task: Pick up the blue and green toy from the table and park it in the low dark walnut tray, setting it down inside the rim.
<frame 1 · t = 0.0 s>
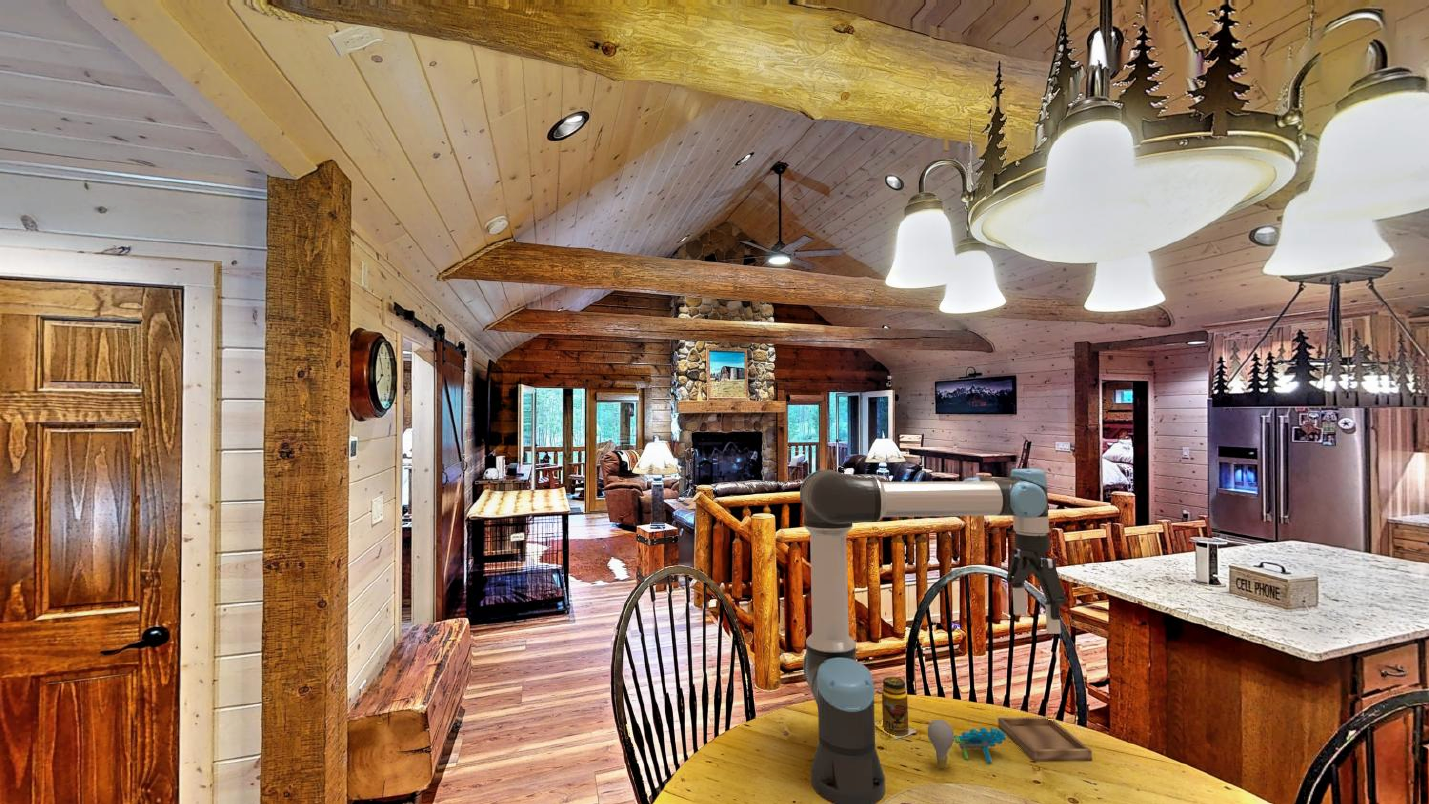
hand: (1035, 623, 131), 28 cm above the table, tool pointing down, fingers open, 13 cm apart
light bulb: (942, 769, 120), on the table
tray: (1042, 742, 130), on the table
blue and green toy: (980, 756, 125), on the table
condiment: (893, 729, 137), on the table
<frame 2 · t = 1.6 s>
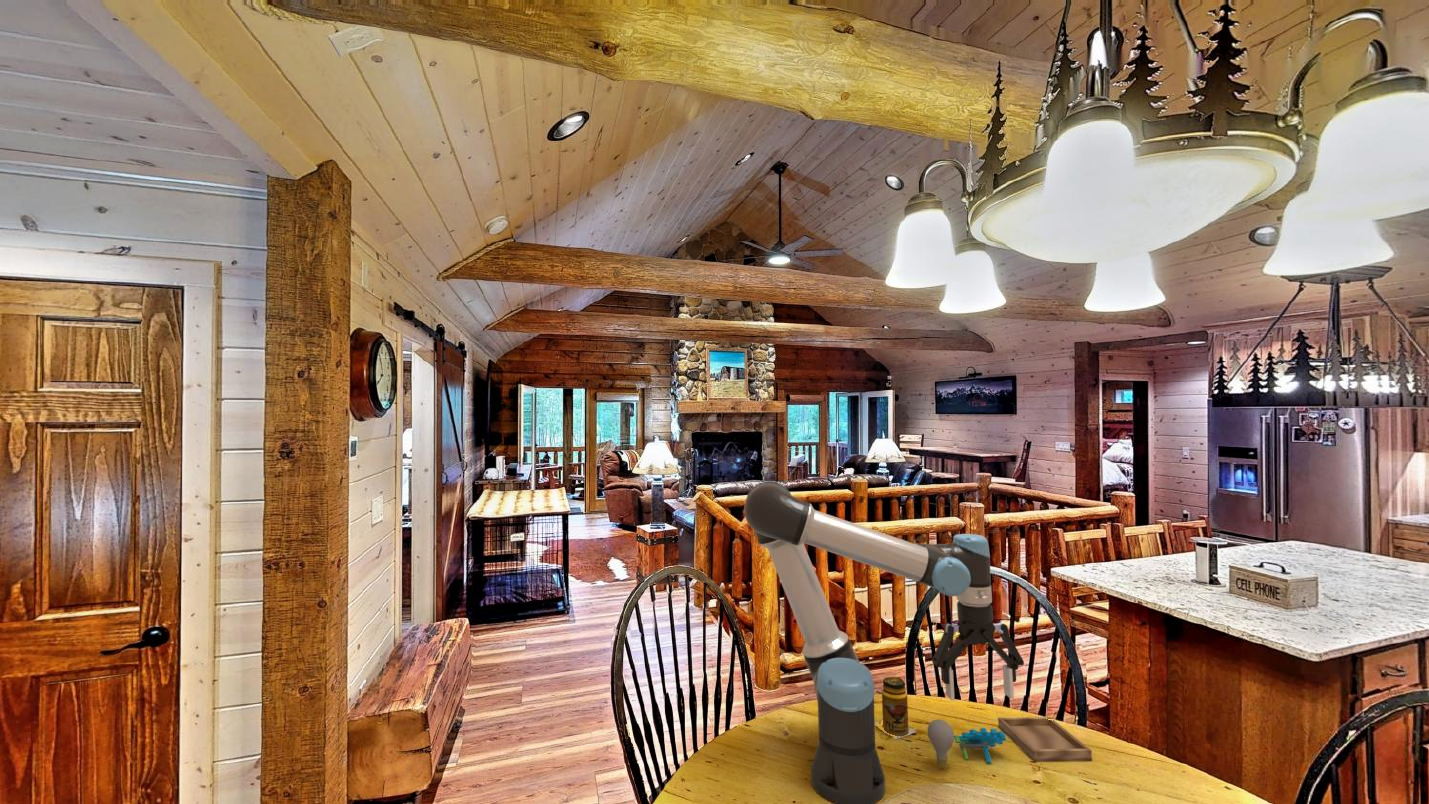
hand: (979, 697, 126), 13 cm above the table, tool pointing down, fingers open, 13 cm apart
nothing on the table moved.
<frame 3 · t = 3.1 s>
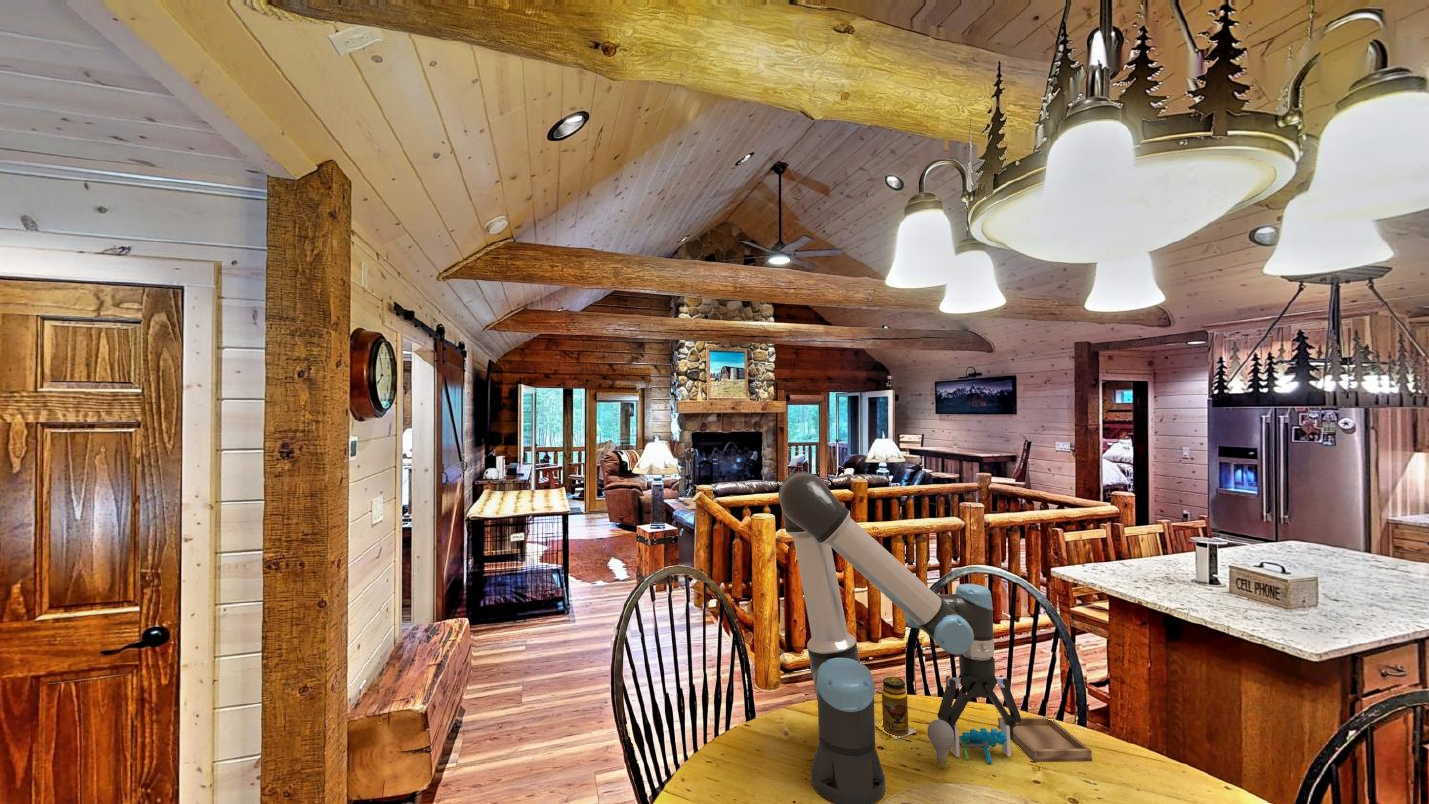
hand: (980, 753, 125), 0 cm above the table, tool pointing down, fingers closed on blue and green toy, 11 cm apart
blue and green toy: (981, 756, 125), on the table, touching gripper
everything else where it was.
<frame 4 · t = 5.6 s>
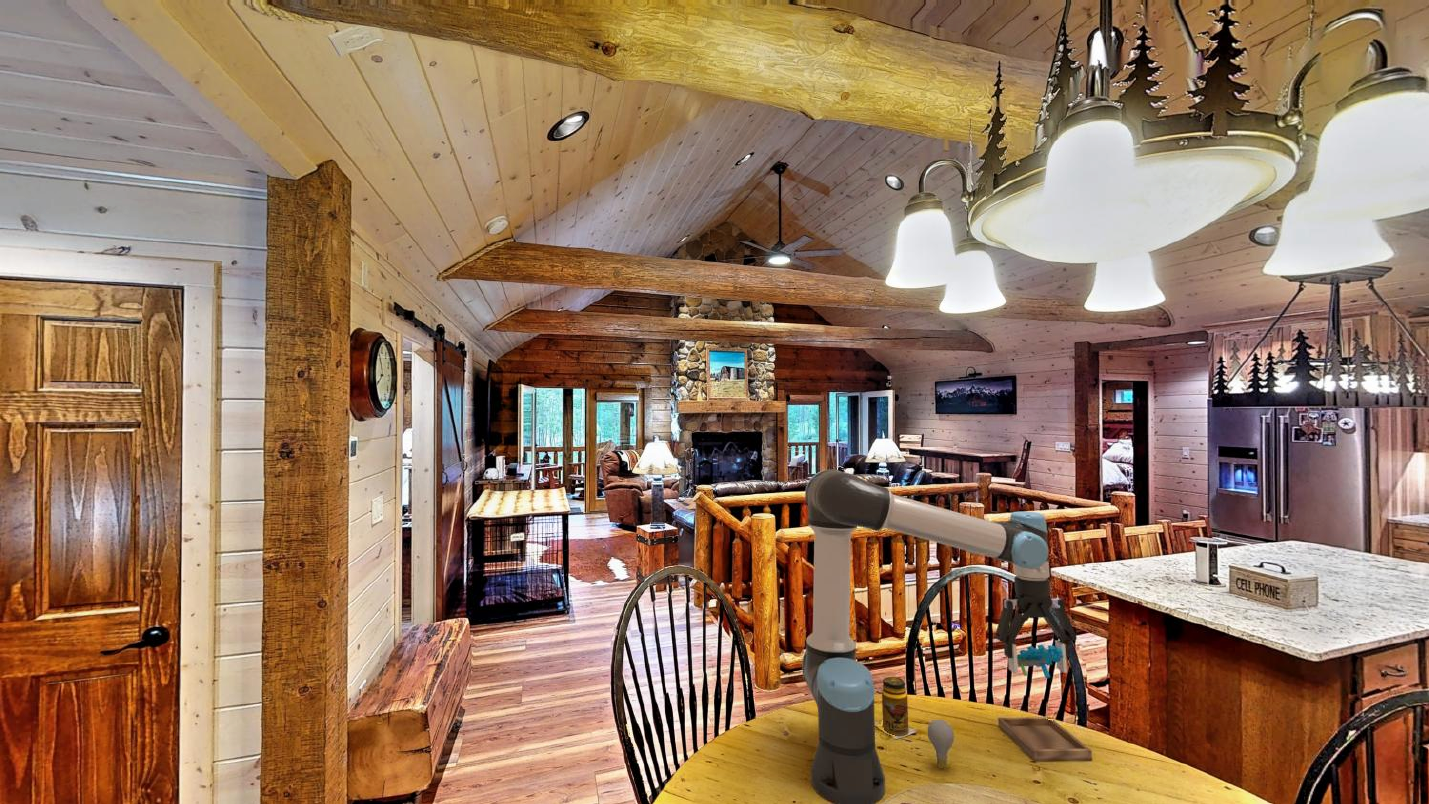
hand: (1037, 670, 131), 17 cm above the table, tool pointing down, fingers closed on blue and green toy, 11 cm apart
blue and green toy: (1038, 673, 130), point 16 cm above the table, touching gripper
everything else where it was.
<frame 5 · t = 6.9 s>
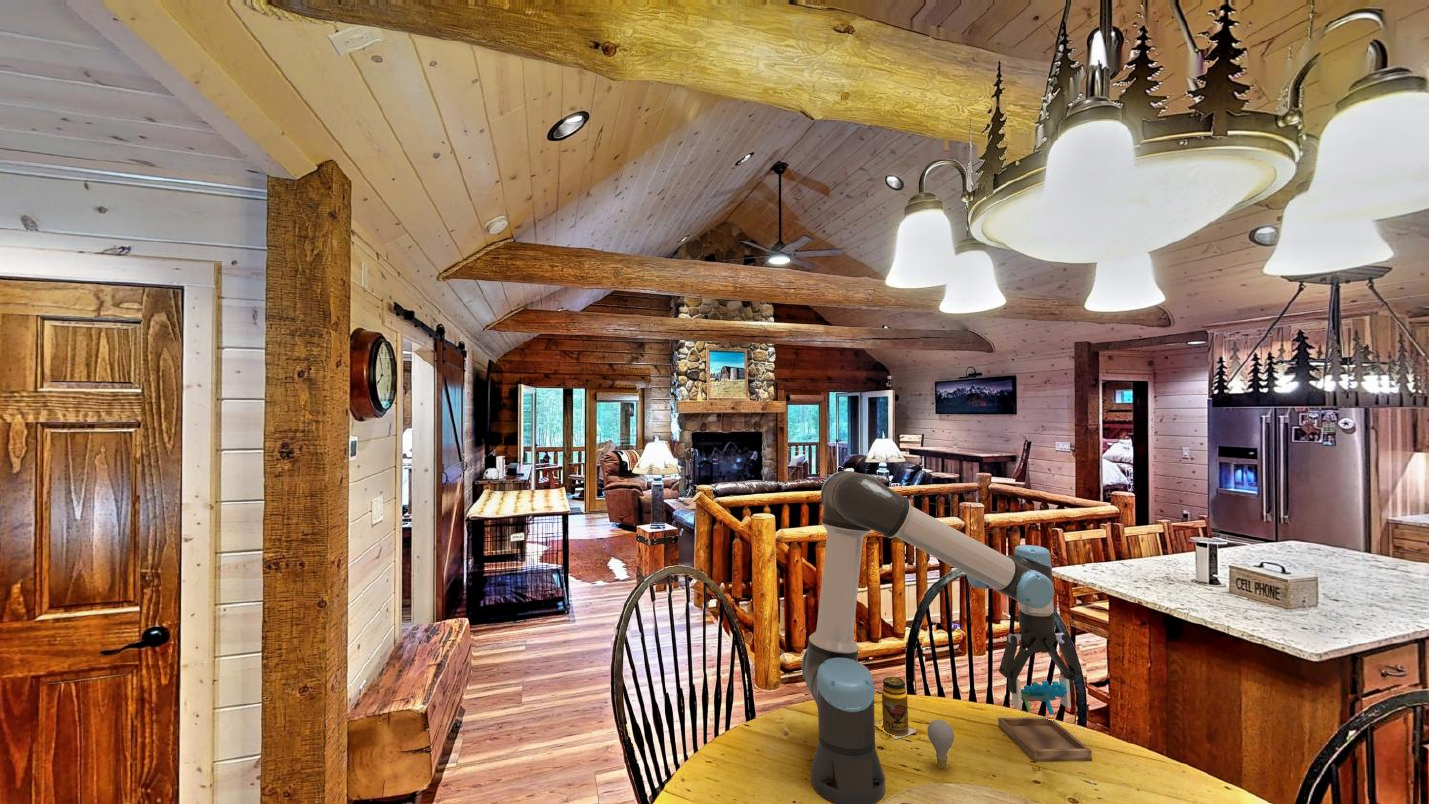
hand: (1041, 706, 130), 8 cm above the table, tool pointing down, fingers closed on blue and green toy, 11 cm apart
blue and green toy: (1042, 708, 130), point 8 cm above the table, touching gripper
everything else where it was.
when the fingers open (3 cm above the table, at t = 8.2 s): blue and green toy drops 3 cm, resting on tray.
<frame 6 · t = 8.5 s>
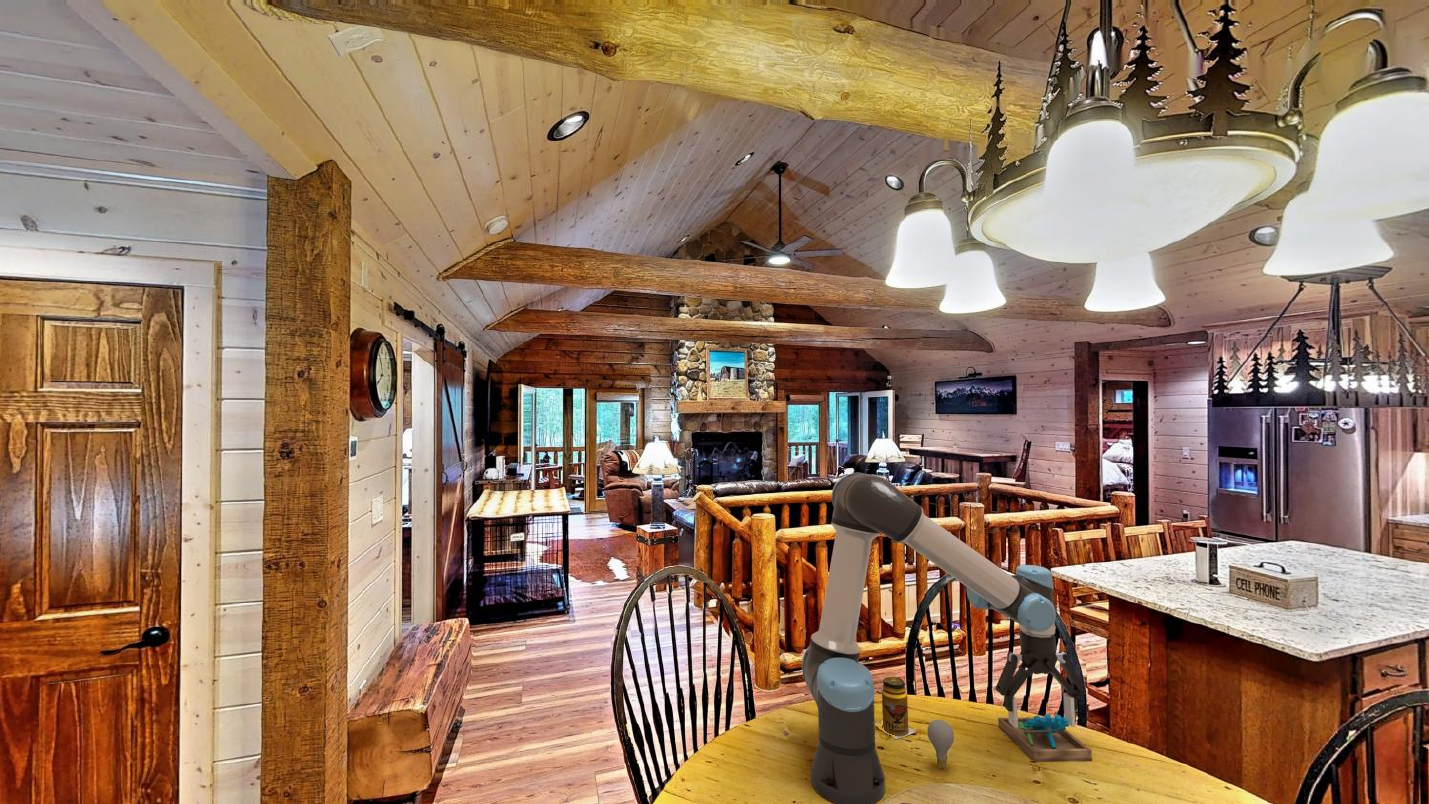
hand: (1041, 724, 130), 4 cm above the table, tool pointing down, fingers open, 13 cm apart
blue and green toy: (1044, 742, 129), resting on tray
everything else where it was.
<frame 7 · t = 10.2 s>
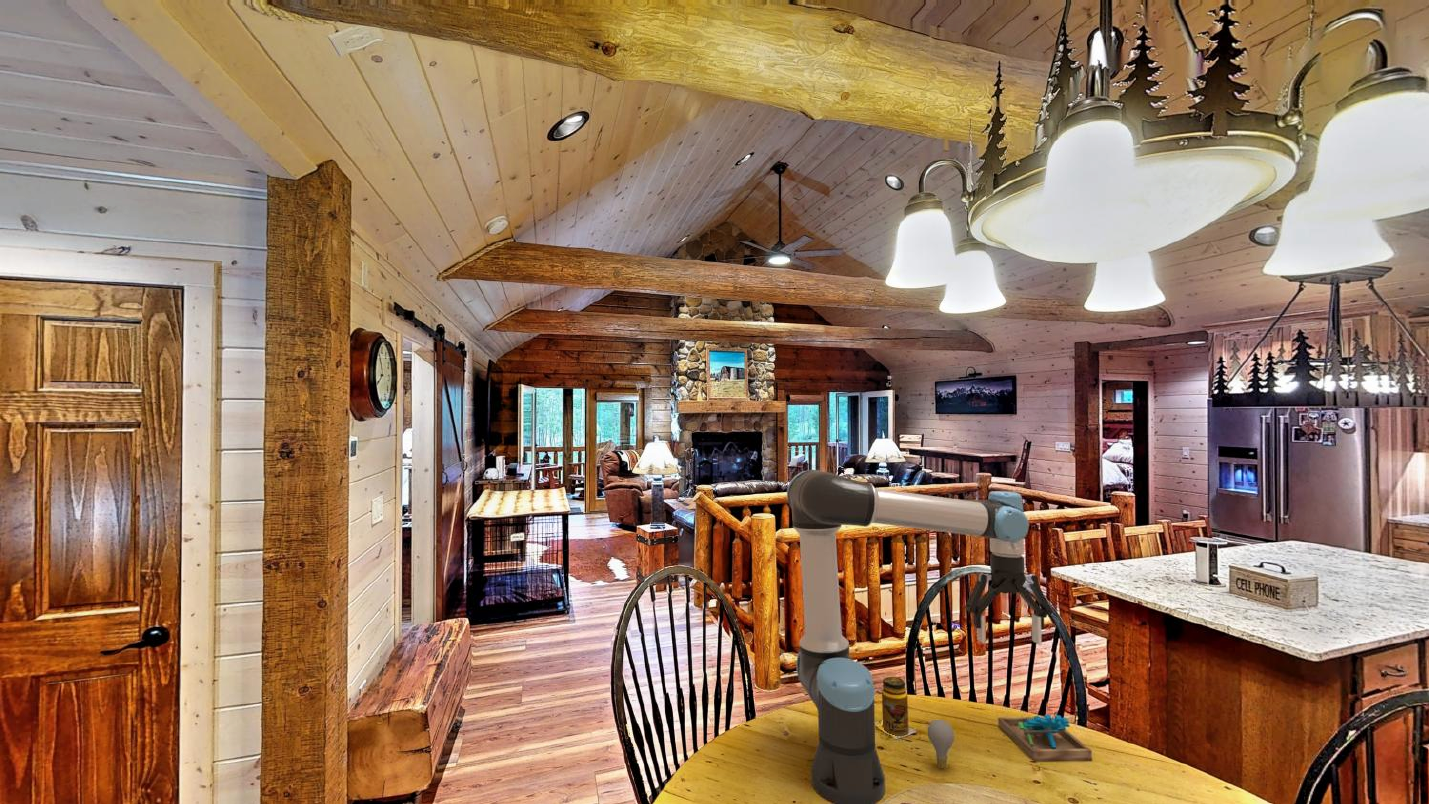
hand: (1009, 642, 135), 22 cm above the table, tool pointing down, fingers open, 13 cm apart
nothing on the table moved.
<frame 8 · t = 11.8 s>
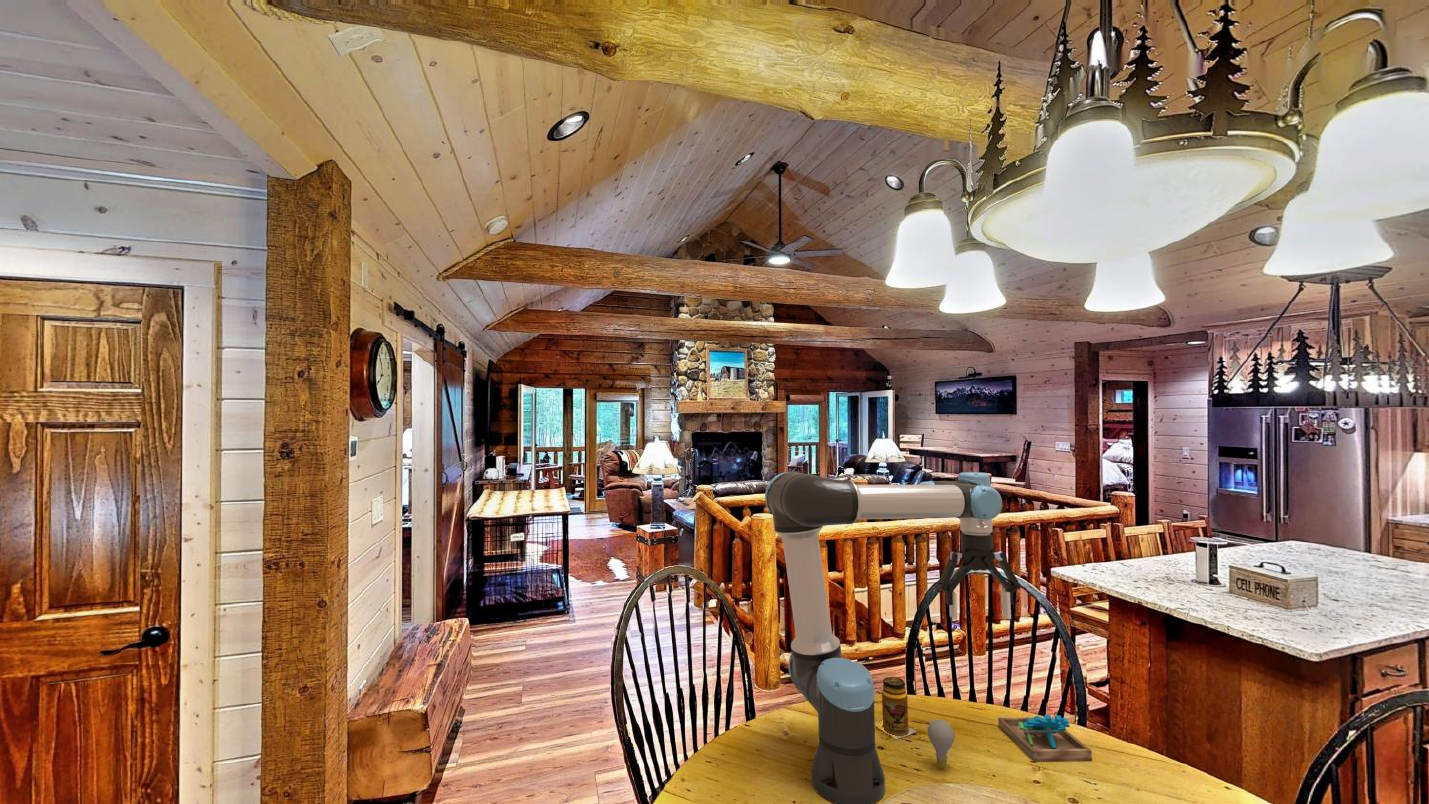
hand: (980, 617, 139), 27 cm above the table, tool pointing down, fingers open, 13 cm apart
nothing on the table moved.
at the end: blue and green toy inside the target area on the tray (0.5 cm from its centre), point 0.4 cm above the tray's base; the gripper is holding nothing; blue and green toy touching tray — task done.
